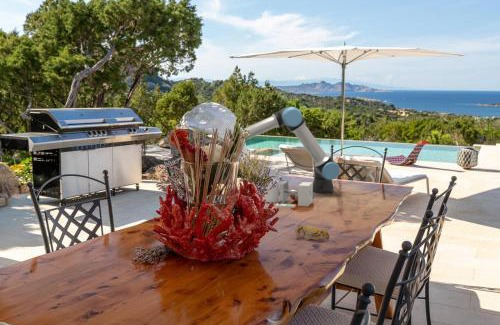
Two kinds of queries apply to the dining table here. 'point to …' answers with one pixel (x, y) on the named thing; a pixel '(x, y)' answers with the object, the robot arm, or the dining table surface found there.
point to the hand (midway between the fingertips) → (257, 192)
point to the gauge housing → (302, 195)
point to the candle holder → (273, 194)
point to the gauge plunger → (285, 192)
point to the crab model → (311, 232)
